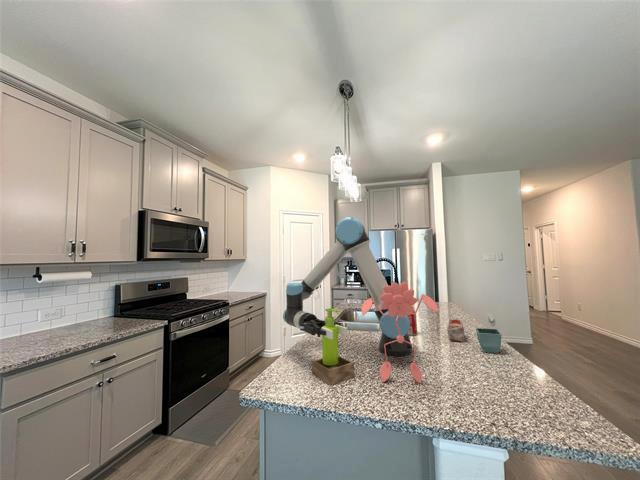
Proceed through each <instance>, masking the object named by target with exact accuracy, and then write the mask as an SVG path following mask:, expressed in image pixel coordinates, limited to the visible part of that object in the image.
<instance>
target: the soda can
mask: <svg viewBox="0 0 640 480" xmlns="http://www.w3.org/2000/svg"><path fill="white" fill-rule="evenodd" d="M415 311H416V309H414V312H412V313H415ZM407 315H408V318H409V320H410V328H409V331H408V336H409V337H410V336H413V337H414V336H417V334H418V325H417V313H415V314H407Z"/></svg>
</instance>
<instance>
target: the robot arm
mask: <svg viewBox="0 0 640 480" xmlns="http://www.w3.org/2000/svg"><path fill="white" fill-rule="evenodd" d="M335 236H336V239H335V243H334V244H333V245H332V247H331V248H330V249H329V250H328V251H327V252H326V253H325V254H324V255H323V257H322V258H321V259H320V260H319V261H318V262H317V264H316V265H315V266H314V267H313V268H312V269H311V270H310V272H309V273H308V274H307V275H306V276H305V277H304V278H303V280H302V281H301V282H288V283H287V284H286V290H285V294H286V295H285V297H286V309H285V310H284V311H283V314H282V319H283V321H284V322H285V323H286V324H288V325H289V326H292V327H295V328H297V329H299V330H300V331H303V332H305V333H307V334H308V335H312V336H316V335H317V338H320V337H321V338H322V336H325V337H327V338H330V339H333V331H331V330H329V329H326V328H323V326H325V320H322V319H319V318H318V317H317V316H316V315H315V314H314V313H310V312H308V311H304V301H305V300H307V299H309V298H310V297H311V296H312V295H313V293H314V291H315V290H316V289H317V288H318V287H319V285H320V284H321V283H322V282H323V281H324V280H325V279H326V278H327V276H329V274H330V273H331V272H332V270H333V269H334V268H336V266H337V265H338V264H339V263H340V262H341V261H342V259H344V257H346V254H349V255H351V257H352V260H353V262H354V264H355V266H356V268H357V270H358V273H359V275H360V276H361V279H362V281H363V283H364V285H365V287H366V289H367V290H368V293H369V296H370V298H372V300H373V301H374V302H375V304H376V305H377V306H378V307H379V309H380V310H381V311H382V312H383V314H388V309H382V308H381V305H382V302H383V301H381V300H380V296H381V295H383V294H385V291H384V289H383V287H384V286H387V285H389V284H388V282H387V280H386V278H385V276H384V274H383V272H382V271H381V268H380V265H378V262H377V260H376V258H375V256H374V255H373V252H372V250H371V248H370V242H371V240H370V238H369V236H368V234H367V232H366V228H365V227H364V224H363V223H362V222H361V221H360V220H359V219H358V218H356V217H353V216H347V217H343V218H342V219H341V220H339V221H338V222H337V224H336V227H335ZM373 312H374V313H375V316H376V318H377V320H378V322H379V328H380V330H381V334H380V339H379V343H378V350H379V352H380V353H382V354H384V355H385V348H386V356H387V355H388V356H394V357H402V356H403V357H404V356H405V357H406V356H409V355H412V353H414V351H413V350H414V349H413V348H414V347H413V345H412V344H413V343H412V342H411V339H410V336H409V335H408V331H409V328H410V320H409V318H408V315H407V314H406V315H405V317H404V318H403V317H400V316H399V317H398V320H397V324H398V327H399V331H400V334H401V335H402V336H403V337H404V340H405V341H407V342H410V343H412V344H409V343H407V342H405V341H404V342H403V343H399V342H397V341H395V340H397V339H396V338H397V336H398V335H399V332H398V329H397V326H396V323H395V322H396V318H397V315H398V314H397V313H396V315H395V316H394V317H391V316H390V315H387V316H384V315H382V313H381V312H380V311H379V310H378V308H377V307H376V306H375V305H374V307H373ZM341 324H342V323H340V322H337V321H334V326H337V327H338V334H339V335H342V336H345V337H348V335H349V334H348V327H346V326H342V325H341ZM392 341H395V342H392ZM389 342H392V343H389ZM386 343H389V344H387V345H385V348H384V344H386Z"/></svg>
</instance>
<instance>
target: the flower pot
mask: <svg viewBox="0 0 640 480" xmlns="http://www.w3.org/2000/svg"><path fill="white" fill-rule="evenodd" d="M475 332H476V337H477V341H478V344H479V346H480V347H481V350H482V351H483V352H484V353H491V354H498V353H499V351H500V350H501V347H502V338H503V337H502V335H503V334H502V333H501V332H500V331H499V330H498V329H497V328H485V327H484V328H483V327H481V328H480V327H476V328H475Z"/></svg>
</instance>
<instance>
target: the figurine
mask: <svg viewBox="0 0 640 480" xmlns="http://www.w3.org/2000/svg"><path fill="white" fill-rule="evenodd" d="M383 289H384V291H385V294H383V295H381V296H380V300H381V301H383V302H382V305H381V308H382V309H388V314H383V312H382V311H381V310H380V309H379V307H378V306H377V305H376V304H375V302H374V301H373V299H372V297H369V298H367V299H366V300H365V301H364V303H363V304H362V307H361V308H360V309H361V315H362V316H365V315H366V314H367V313H369V312H370V311H371V309H372V308H373V305H374V307H375V306H376V307H377V308H378V310H379V311H380V312H381V313H382V315H384V316H387V315H390V316H391V317H394V316H395V315H396V313H397V314H398V315H397V318H396V322H395V323H396V326H397V329H398V332H399V335H398V336H397V338H396V339H397V340H395V341H397V342H399V343H403V342H404V341H405V340H404V337H403V336H402V335H401V334H400V331H399V327H398V324H397V320H398V317H399V316H400V317H403V318H404V317H405V315H406V314H415V313H416V314H417V312H418V310H419V308H420V305H421V304H422V302H423V303H424V304H425V306H426V307H427V308H428V309H430V310H431V311H434V312H435V313H439V309H438V305H437V303H436V302H435V300H434V299H433V298H432V297H430V296H429V295H426V294H424V293H422V294H421V296H420V299H419V301H418V299H417V297H414V295H415V289H413V288H410V289H409V286H408V284H407V282H406V281H403V282H402V283H400V284H399V283H397V282H392V283H391V285H389V284H388V285H387V286H384V287H383ZM417 303H418V304H417ZM415 304H417V307H416V309H415V308H414V307H413V306H414V305H415ZM414 310H415V313H412V312H414ZM395 341H392V342H395ZM392 342H389V343H392ZM405 342H407V341H405ZM389 343H386V344H384V348H385V345H387V344H389ZM407 343H409V344H412V346H414V347H413V348H414V349H413V350H414V351H413V362H412V363H410V365H409V367H410V375H411V376H412V377H411V378H413V379H414V380H416V382H418V384H422V377H423V376H422V371H421V369H420V367H419V366H418V364H417V363H416V345H415V344H414V343H412V342H411V343H410V342H407ZM384 355H385V361H384V362H383V363H382V365H381V366H380V370H379V371H380V372H379V375H380V376H379V377H380V379H381V381H382V383H384V382H386V381H387V380H388V379H389V378H390V377H391V375H392V364H391V363H390V361H388V358H387V354H386V348H385V354H384ZM371 374H372V373H370V374H369V376H370V375H371ZM432 392H434V390H432V391H430V392H428V393H425V394H421V395H418V397H421V396H424V397H425V396H427V395H429V394H431V393H432ZM389 394H391V395H395V396H397V394H395V393H390V392H389ZM398 396H400V397H403V395H400V394H398ZM413 397H414V395H413V396H412V395H409V398H413Z"/></svg>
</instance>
